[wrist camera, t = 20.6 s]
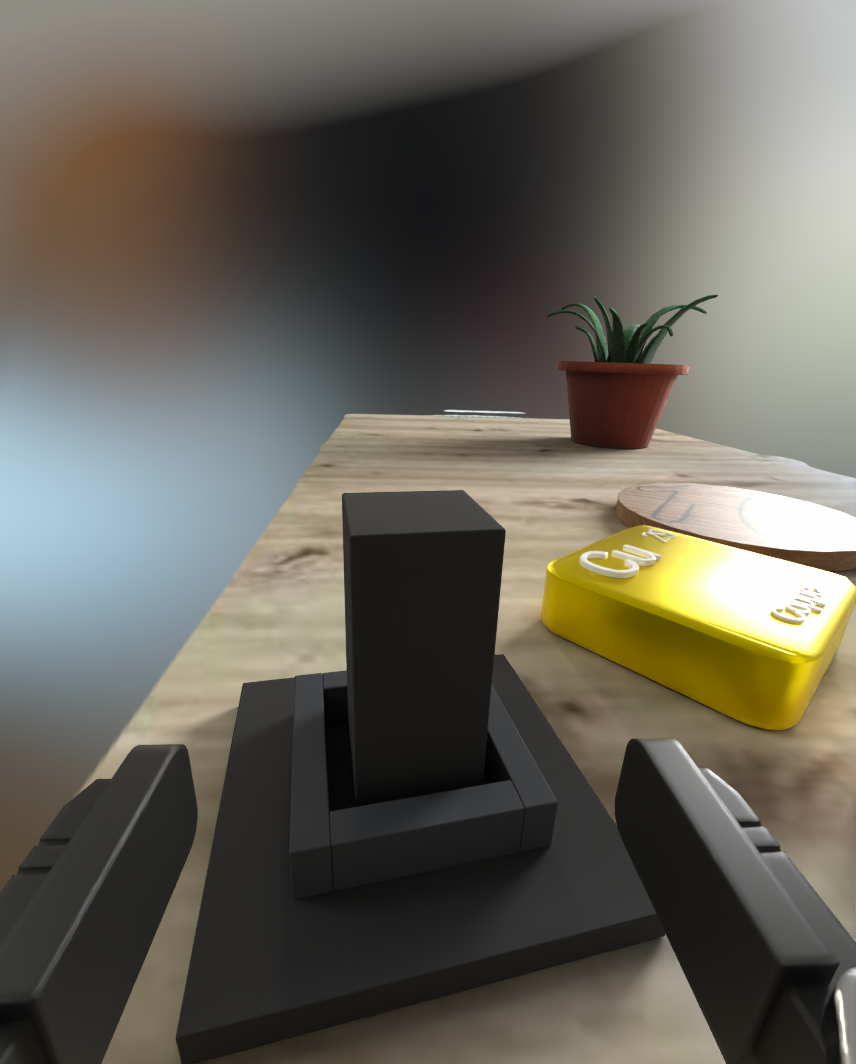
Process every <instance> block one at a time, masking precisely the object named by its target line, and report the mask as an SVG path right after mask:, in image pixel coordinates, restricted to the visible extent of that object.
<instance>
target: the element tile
mask: <svg viewBox="0 0 856 1064" xmlns="http://www.w3.org/2000/svg"><path fill="white" fill-rule="evenodd" d="M855 602H856V587H855V586H854V585H853V584H852V583H851V582H850V581H849V580H848V579H847V578H845V577H843V576H840V575H837V574H834V573H830V572H826V571H822V570H818V569H814V568H811V567H807V566H803V565H799V564H795V563H791V562H787V561H784V560H780V559H776V558H772V557H768V556H764V555H760V554H757V553H753V552H749V551H745V550H741V549H737V548H733V547H730V546H726V545H722V544H718V543H714V542H710V541H706V540H703V539H699V538H695V537H691V536H687V535H683V534H679V533H676V532H672V531H668V530H664V529H660V528H656V527H652V526H646V525H640V526H635V527H632V528H628V529H625V530H623V531H621V532H618V533H616V534H614V535H612V536H609V537H607V538H605V539H602V540H600V541H598V542H595V543H593V544H591V545H588V546H586V547H584V548H582V549H579V550H577V551H575V552H572V553H570V554H568V555H565V556H563V557H561V558H558V559H556V560H554V561H552V562H551V563H550V564H549V566H548V568H547V572H546V580H545V588H544V596H543V604H542V612H541V618H542V621H543V624H544V625H545V626H546V627H547V628H548V629H549V630H551V631H552V632H553V633H555V634H556V635H559V636H561V637H563V638H565V639H567V640H569V641H571V642H573V643H575V644H578V645H580V646H582V647H584V648H586V649H588V650H590V651H592V652H594V653H596V654H599V655H601V656H603V657H605V658H607V659H609V660H611V661H613V662H615V663H618V664H620V665H622V666H624V667H626V668H628V669H630V670H632V671H634V672H636V673H639V674H641V675H643V676H645V677H647V678H649V679H651V680H653V681H655V682H658V683H660V684H662V685H664V686H666V687H668V688H670V689H672V690H674V691H677V692H679V693H681V694H683V695H685V696H687V697H689V698H691V699H693V700H695V701H698V702H700V703H702V704H704V705H706V706H708V707H710V708H712V709H714V710H717V711H719V712H721V713H723V714H725V715H727V716H729V717H731V718H733V719H735V720H738V721H740V722H743V723H746V724H748V725H751V726H755V727H759V728H762V729H767V730H785V729H788V728H791V727H793V726H794V725H796V724H797V723H798V722H799V721H800V720H801V718H802V716H803V715H804V713H805V711H806V709H807V707H808V705H809V703H810V701H811V699H812V697H813V695H814V693H815V691H816V689H817V688H818V686H819V684H820V682H821V680H822V678H823V676H824V674H825V672H826V670H827V668H828V666H829V664H830V662H831V661H832V659H833V657H834V655H835V653H836V651H837V649H838V647H839V645H840V643H841V640H842V637H843V635H844V632H845V629H846V626H847V624H848V621H849V618H850V615H851V613H852V610H853V607H854V604H855Z"/></svg>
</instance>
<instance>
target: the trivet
mask: <svg viewBox="0 0 856 1064" xmlns="http://www.w3.org/2000/svg"><path fill="white" fill-rule="evenodd" d="M616 516H617V517H618V518H619V519H620V520H621V522H622V523H623V524H625V525H626V526H628V527H630V528H632V527H635V526H640V525H646V526H652V527H656V528H660V529H664V530H668V531H672V532H676V533H679V534H683V535H687V536H691V537H695V538H699V539H703V540H706V541H710V542H714V543H718V544H722V545H726V546H730V547H733V548H737V549H741V550H745V551H749V552H753V553H757V554H760V555H764V556H768V557H772V558H776V559H780V560H784V561H787V562H791V563H795V564H799V565H803V566H807V567H811V568H814V569H818V570H822V571H842V570H851V569H855V568H856V518H855V517H853V516H850V515H848V514H846V513H843V512H840V511H837V510H834V509H831V508H827V507H824V506H821V505H818V504H814V503H810V502H806V501H802V500H798V499H794V498H790V497H785V496H780V495H775V494H770V493H765V492H760V491H753V490H746V489H740V488H733V487H724V486H715V485H705V484H688V483H653V484H643V485H637V486H633V487H629V488H625V489H624V490H623V491H621V492H620V493H619V494H618V500H617V506H616Z"/></svg>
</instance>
